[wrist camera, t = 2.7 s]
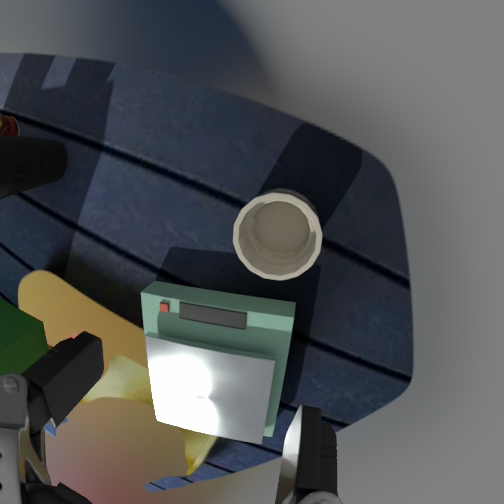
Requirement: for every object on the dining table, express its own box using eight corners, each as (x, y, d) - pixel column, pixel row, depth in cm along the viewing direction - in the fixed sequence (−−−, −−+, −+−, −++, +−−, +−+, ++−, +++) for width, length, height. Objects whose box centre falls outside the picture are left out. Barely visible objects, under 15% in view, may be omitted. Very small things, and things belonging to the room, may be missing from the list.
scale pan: (276, 355, 25) (275, 361, 25) (262, 439, 29) (261, 444, 28) (148, 330, 27) (144, 335, 26) (159, 415, 31) (156, 420, 30)
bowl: (323, 192, 25) (327, 199, 20) (313, 263, 27) (315, 285, 22) (249, 184, 26) (236, 189, 21) (244, 254, 27) (230, 274, 23)
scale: (295, 302, 28) (293, 319, 25) (275, 419, 33) (271, 439, 29) (154, 280, 30) (139, 293, 27) (164, 395, 34) (154, 412, 31)
